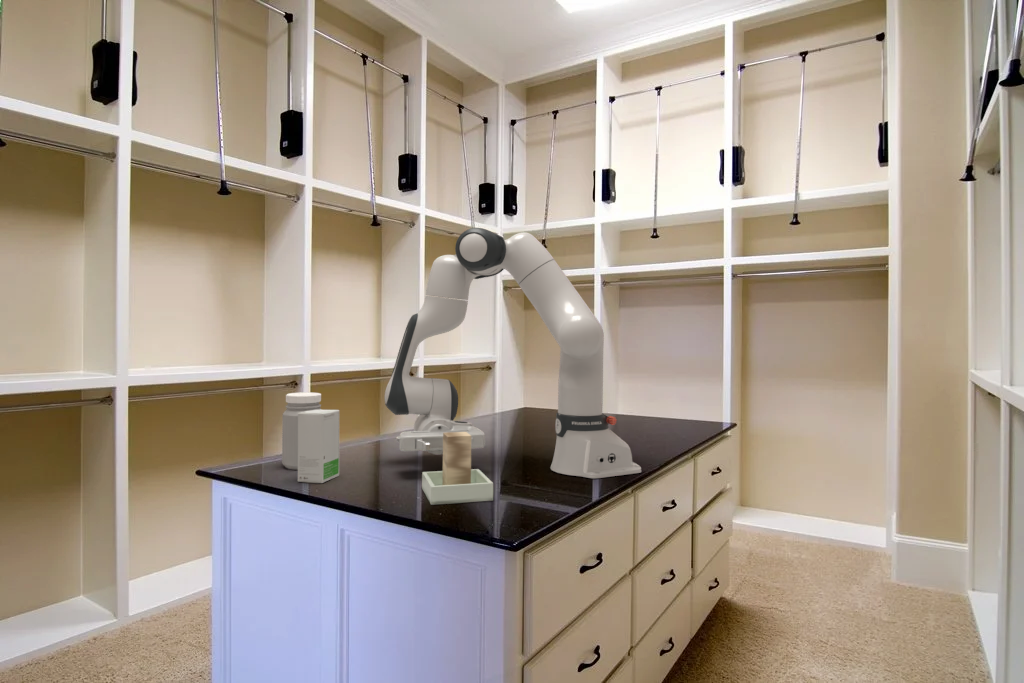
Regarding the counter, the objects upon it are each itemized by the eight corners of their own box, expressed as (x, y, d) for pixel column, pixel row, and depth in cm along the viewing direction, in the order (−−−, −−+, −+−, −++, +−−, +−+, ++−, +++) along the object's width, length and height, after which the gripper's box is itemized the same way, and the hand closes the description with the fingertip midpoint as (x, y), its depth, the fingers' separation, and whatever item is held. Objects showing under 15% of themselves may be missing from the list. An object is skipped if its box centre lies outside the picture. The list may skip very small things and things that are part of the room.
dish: (478, 484, 130) (478, 468, 130) (493, 500, 118) (493, 483, 118) (421, 488, 126) (422, 472, 126) (431, 504, 114) (431, 487, 114)
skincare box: (321, 484, 128) (322, 413, 128) (294, 482, 129) (295, 412, 129) (340, 475, 136) (341, 409, 136) (314, 473, 138) (315, 407, 137)
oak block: (465, 487, 125) (466, 431, 125) (470, 493, 120) (471, 435, 120) (442, 488, 124) (443, 432, 123) (446, 495, 119) (447, 436, 119)
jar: (291, 461, 150) (292, 391, 150) (329, 462, 150) (329, 392, 150) (275, 470, 140) (275, 395, 140) (315, 471, 140) (315, 396, 140)
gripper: (395, 424, 141) (401, 434, 128) (477, 421, 147) (491, 431, 134) (394, 450, 141) (401, 462, 128) (476, 446, 147) (490, 458, 134)
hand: (447, 446), depth 131 cm, fingers open, 8 cm apart
